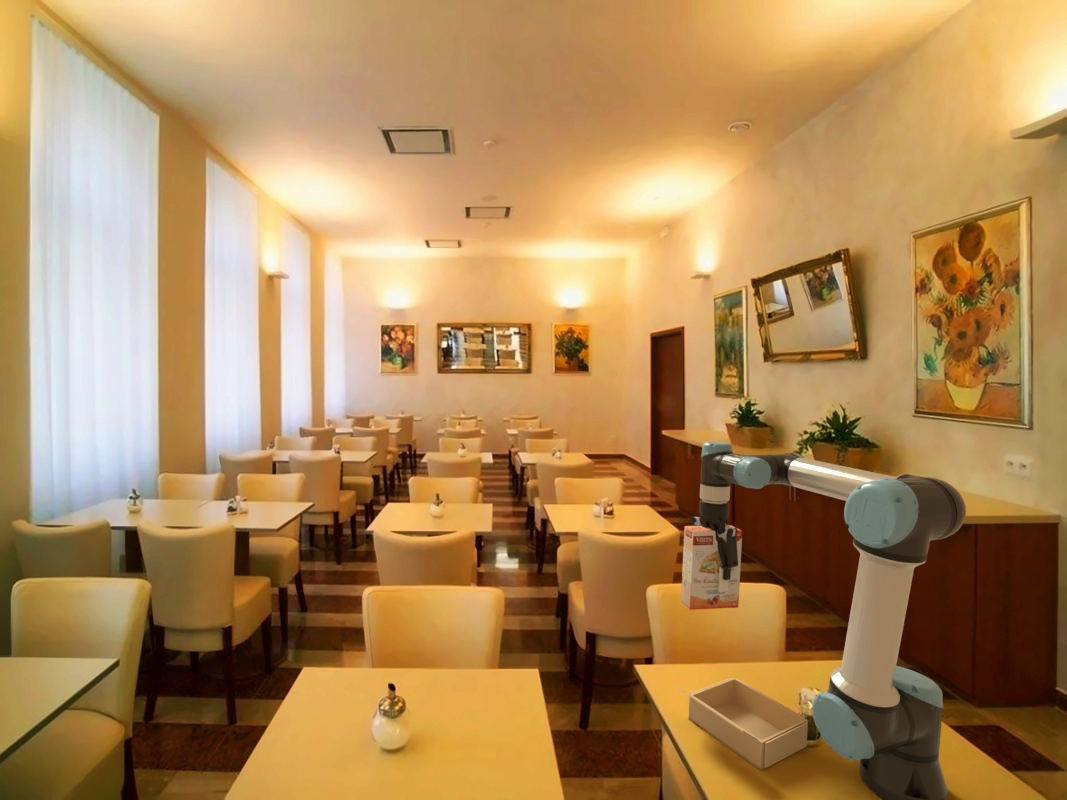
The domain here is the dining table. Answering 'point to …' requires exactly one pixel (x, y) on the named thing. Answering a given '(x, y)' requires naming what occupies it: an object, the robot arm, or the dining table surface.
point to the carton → (749, 722)
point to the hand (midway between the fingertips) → (710, 585)
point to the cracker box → (707, 570)
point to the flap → (718, 714)
